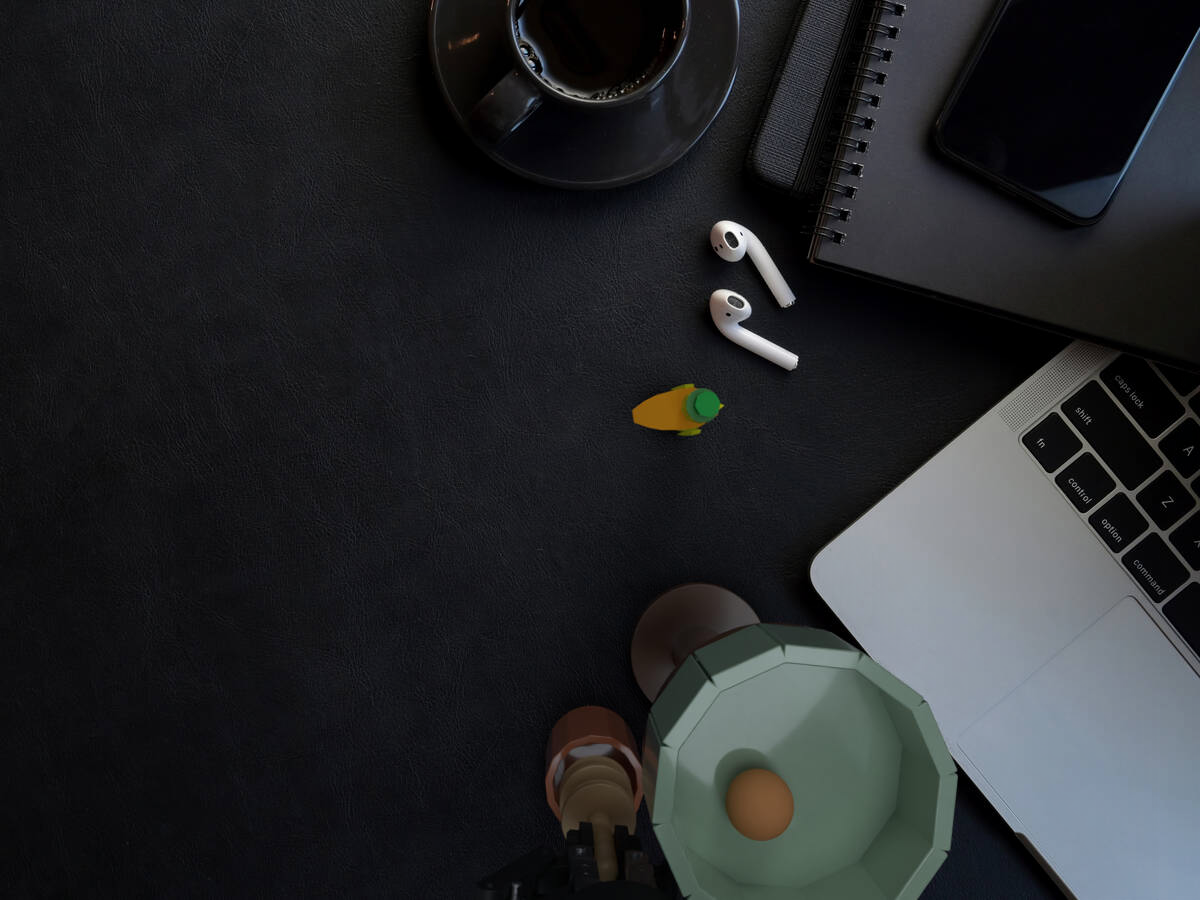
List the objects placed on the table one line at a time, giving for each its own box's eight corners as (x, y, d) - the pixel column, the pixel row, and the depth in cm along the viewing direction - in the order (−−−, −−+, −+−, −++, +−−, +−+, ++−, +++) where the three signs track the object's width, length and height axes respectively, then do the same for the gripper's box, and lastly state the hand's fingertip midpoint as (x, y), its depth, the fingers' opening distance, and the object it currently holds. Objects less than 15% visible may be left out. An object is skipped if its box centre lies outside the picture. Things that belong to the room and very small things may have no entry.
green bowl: (895, 906, 44) (938, 964, 39) (629, 882, 43) (639, 938, 38) (923, 639, 44) (970, 663, 39) (659, 612, 43) (672, 632, 38)
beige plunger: (626, 830, 60) (645, 925, 48) (555, 823, 59) (555, 917, 47) (635, 758, 60) (655, 835, 48) (563, 751, 59) (566, 827, 47)
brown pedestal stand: (772, 743, 69) (895, 906, 44) (603, 727, 68) (629, 882, 43) (790, 573, 69) (923, 639, 44) (621, 555, 68) (659, 612, 43)
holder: (630, 797, 68) (639, 838, 61) (541, 788, 68) (539, 829, 61) (639, 709, 68) (650, 741, 61) (551, 701, 68) (550, 731, 61)
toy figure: (627, 444, 68) (642, 442, 56) (620, 396, 68) (633, 383, 56) (717, 431, 69) (751, 426, 57) (710, 383, 69) (743, 368, 57)
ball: (780, 828, 39) (807, 845, 41) (775, 755, 40) (801, 775, 42) (714, 834, 40) (744, 850, 42) (713, 764, 42) (741, 783, 44)
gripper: (429, 1120, 34) (471, 896, 52) (794, 1147, 35) (714, 918, 52) (452, 916, 34) (487, 761, 52) (815, 947, 35) (729, 784, 52)
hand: (601, 840), depth 52 cm, fingers closed on beige plunger, 1 cm apart
